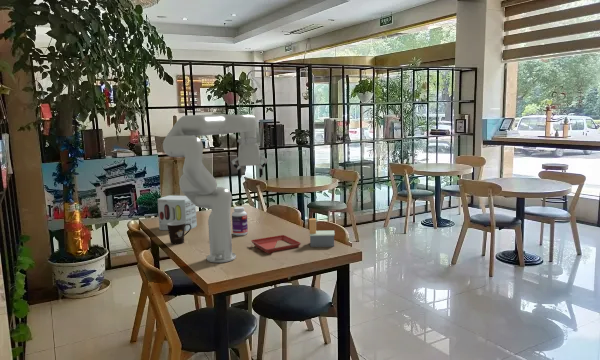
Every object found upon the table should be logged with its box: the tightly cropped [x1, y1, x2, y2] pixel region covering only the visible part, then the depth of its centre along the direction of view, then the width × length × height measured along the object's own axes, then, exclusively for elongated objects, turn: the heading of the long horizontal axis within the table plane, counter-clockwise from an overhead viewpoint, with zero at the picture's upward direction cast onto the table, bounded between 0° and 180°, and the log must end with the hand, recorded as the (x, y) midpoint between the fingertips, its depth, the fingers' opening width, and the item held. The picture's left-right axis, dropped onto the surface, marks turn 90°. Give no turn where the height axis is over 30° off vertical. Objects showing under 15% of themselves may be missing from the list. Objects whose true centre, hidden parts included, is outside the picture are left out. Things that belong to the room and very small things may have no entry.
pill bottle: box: [231, 206, 249, 236], centre depth 239 cm, size 8×8×14 cm
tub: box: [309, 236, 335, 248], centre depth 212 cm, size 7×11×6 cm, turn 86°
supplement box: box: [157, 194, 198, 232], centre depth 257 cm, size 17×13×18 cm
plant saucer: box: [250, 234, 302, 255], centre depth 212 cm, size 18×18×3 cm
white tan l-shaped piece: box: [308, 217, 336, 237], centre depth 211 cm, size 8×12×8 cm, turn 87°
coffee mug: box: [167, 222, 192, 246], centre depth 226 cm, size 12×9×10 cm
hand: (250, 177), depth 215 cm, fingers open, 9 cm apart
